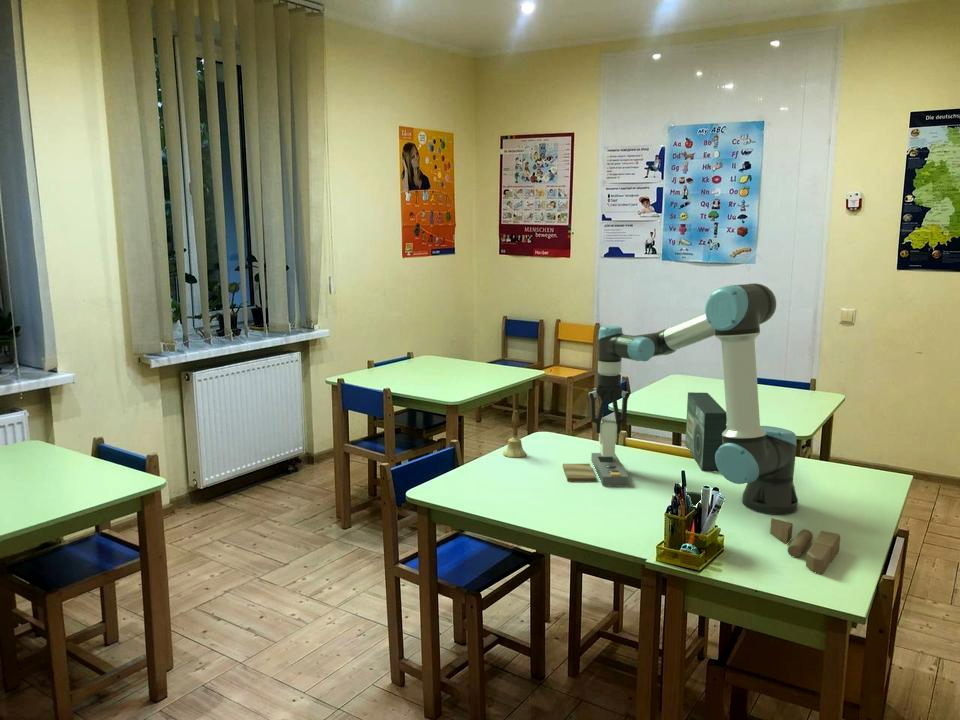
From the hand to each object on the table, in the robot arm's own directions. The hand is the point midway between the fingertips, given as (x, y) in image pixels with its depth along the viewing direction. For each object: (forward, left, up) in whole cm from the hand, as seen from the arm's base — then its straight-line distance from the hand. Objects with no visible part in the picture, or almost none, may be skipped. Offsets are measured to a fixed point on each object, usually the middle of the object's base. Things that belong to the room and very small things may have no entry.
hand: (607, 442), depth 248 cm
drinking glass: (-58, -12, -9) cm, 60 cm away
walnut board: (-6, +10, -9) cm, 15 cm away
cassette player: (+11, -36, -9) cm, 38 cm away
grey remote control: (-5, 0, -9) cm, 10 cm away
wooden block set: (-64, -36, -10) cm, 74 cm away
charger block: (0, 0, -4) cm, 4 cm away
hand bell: (+15, +30, -9) cm, 35 cm away
